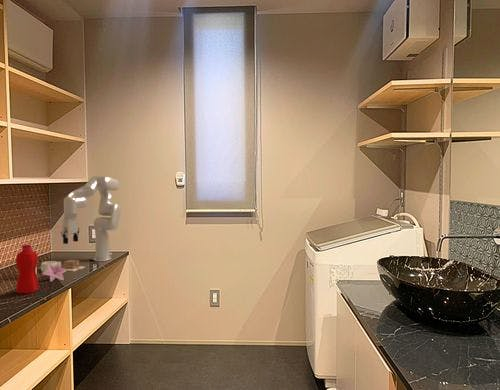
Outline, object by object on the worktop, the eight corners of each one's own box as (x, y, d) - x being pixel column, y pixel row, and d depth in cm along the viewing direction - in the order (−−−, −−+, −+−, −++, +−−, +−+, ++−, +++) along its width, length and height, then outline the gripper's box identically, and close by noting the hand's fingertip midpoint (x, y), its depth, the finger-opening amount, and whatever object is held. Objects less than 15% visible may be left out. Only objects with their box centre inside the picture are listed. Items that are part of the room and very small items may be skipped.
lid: (69, 266, 268) (69, 258, 268) (85, 267, 265) (85, 259, 265) (57, 270, 256) (57, 262, 256) (73, 271, 253) (73, 263, 253)
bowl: (48, 269, 262) (48, 260, 262) (60, 270, 260) (60, 261, 260) (38, 273, 253) (38, 263, 253) (50, 273, 251) (50, 264, 251)
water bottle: (42, 288, 217) (41, 242, 216) (32, 294, 206) (31, 246, 205) (25, 288, 217) (24, 243, 216) (13, 294, 206) (12, 246, 205)
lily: (39, 283, 232) (42, 270, 229) (46, 271, 243) (49, 258, 239) (60, 288, 235) (63, 275, 232) (66, 276, 246) (70, 264, 242)
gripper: (74, 215, 268) (74, 240, 269) (56, 217, 251) (56, 244, 252) (83, 215, 266) (84, 240, 267) (66, 217, 250) (66, 244, 250)
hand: (70, 242), depth 259 cm, fingers open, 9 cm apart
